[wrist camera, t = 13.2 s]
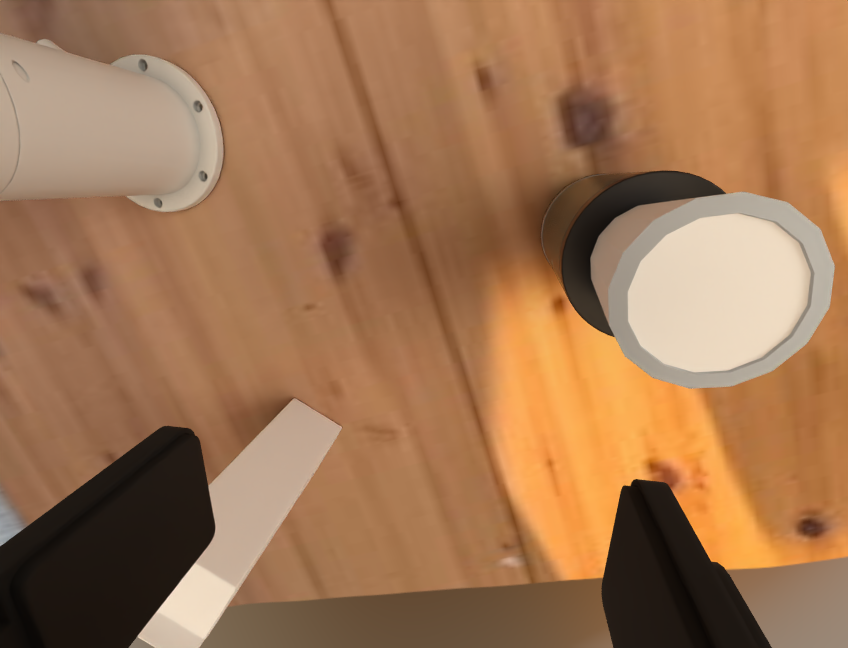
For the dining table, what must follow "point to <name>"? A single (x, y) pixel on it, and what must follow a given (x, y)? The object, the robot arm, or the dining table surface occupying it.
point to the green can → (603, 225)
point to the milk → (243, 522)
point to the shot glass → (712, 286)
